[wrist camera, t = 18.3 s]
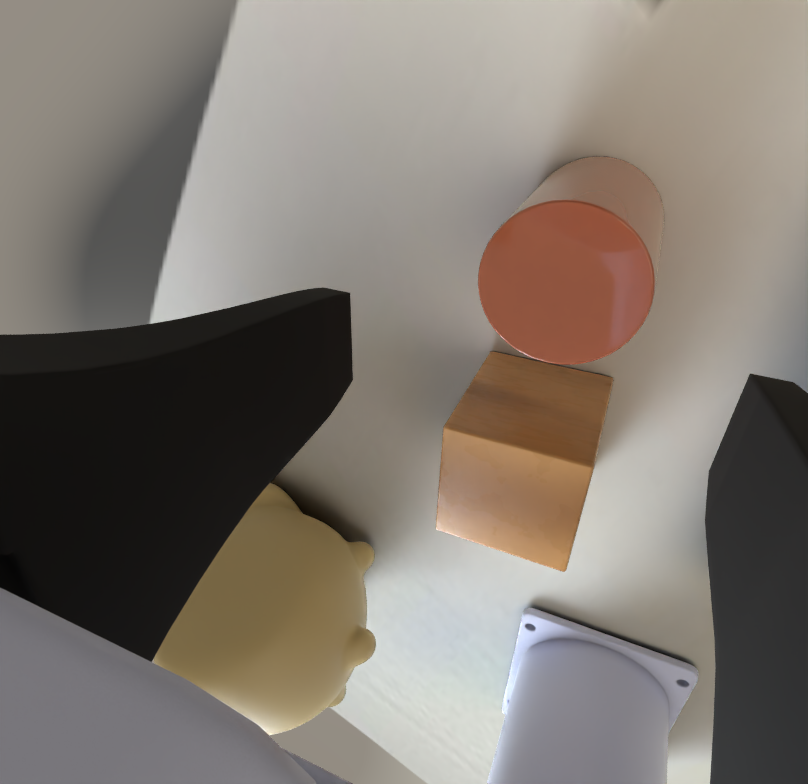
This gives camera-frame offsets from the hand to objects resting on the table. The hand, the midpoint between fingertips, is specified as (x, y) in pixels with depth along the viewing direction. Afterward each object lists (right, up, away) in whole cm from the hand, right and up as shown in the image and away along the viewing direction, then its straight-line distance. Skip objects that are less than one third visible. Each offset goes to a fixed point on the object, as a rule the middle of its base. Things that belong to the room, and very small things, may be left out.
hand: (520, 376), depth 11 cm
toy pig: (-7, -9, +22) cm, 25 cm away
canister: (+4, +5, +8) cm, 10 cm away
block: (+3, -1, +12) cm, 12 cm away
